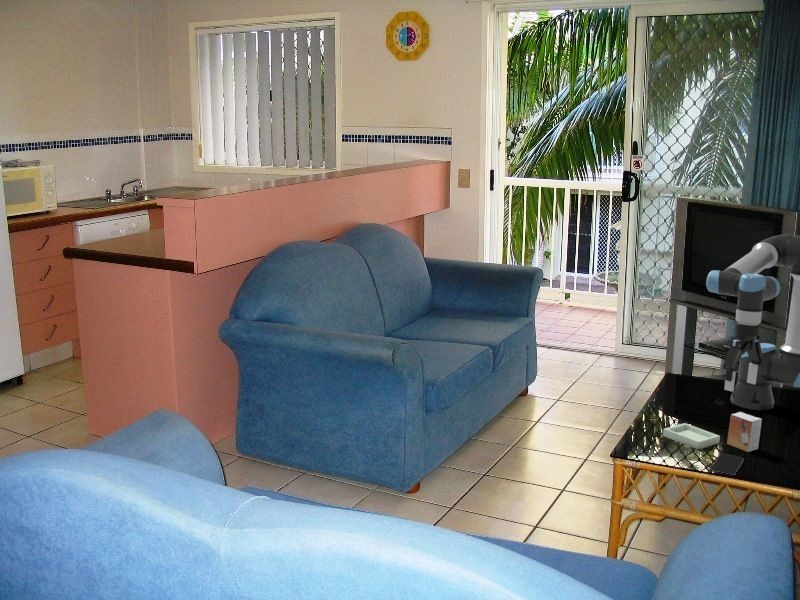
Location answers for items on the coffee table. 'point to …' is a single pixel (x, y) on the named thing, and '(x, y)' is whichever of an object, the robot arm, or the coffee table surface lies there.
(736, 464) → the smartphone
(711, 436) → the tray
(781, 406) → the coffee table surface
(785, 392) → the coffee table surface
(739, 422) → the small box
